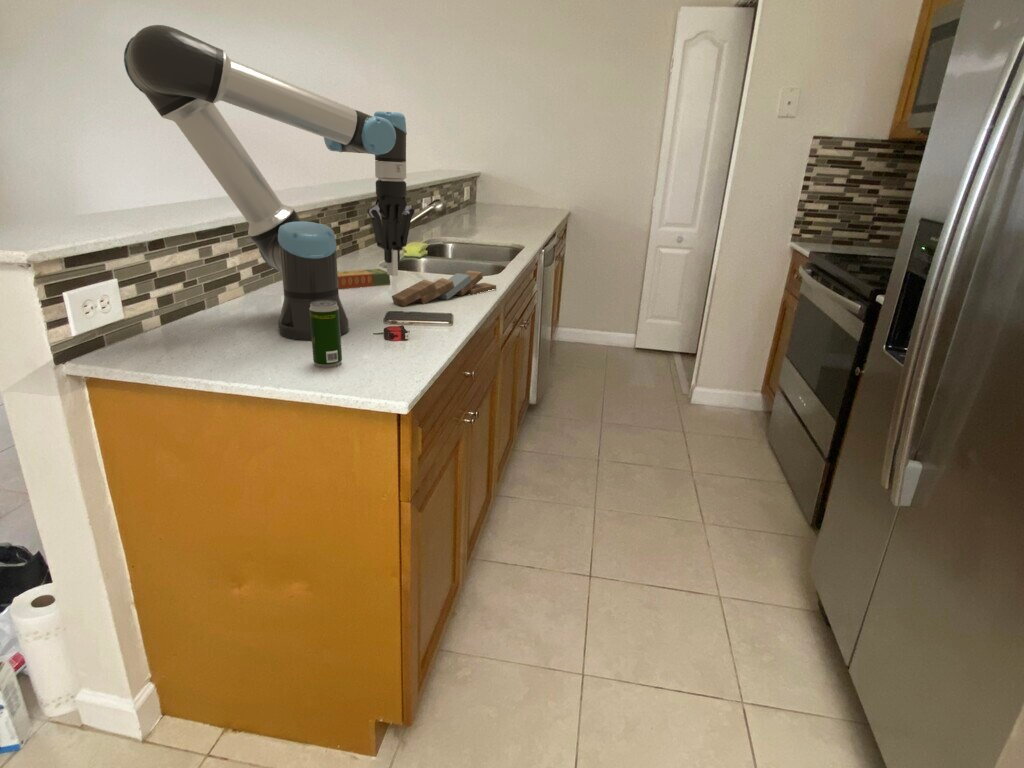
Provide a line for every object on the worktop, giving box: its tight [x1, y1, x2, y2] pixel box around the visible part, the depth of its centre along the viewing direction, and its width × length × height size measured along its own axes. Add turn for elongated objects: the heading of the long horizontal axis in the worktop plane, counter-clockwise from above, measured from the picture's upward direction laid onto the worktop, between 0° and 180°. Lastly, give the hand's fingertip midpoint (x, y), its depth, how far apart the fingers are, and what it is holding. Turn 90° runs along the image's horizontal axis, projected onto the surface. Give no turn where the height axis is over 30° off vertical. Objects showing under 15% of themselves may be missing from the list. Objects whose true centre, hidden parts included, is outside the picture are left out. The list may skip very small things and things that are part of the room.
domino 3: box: [435, 272, 471, 301], centre depth 178 cm, size 2×5×11 cm
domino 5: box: [464, 282, 497, 296], centre depth 186 cm, size 2×5×11 cm
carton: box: [337, 268, 391, 290], centre depth 188 cm, size 8×16×4 cm, turn 124°
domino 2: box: [414, 277, 454, 305], centre depth 173 cm, size 2×5×11 cm
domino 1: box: [391, 279, 436, 308], centre depth 169 cm, size 2×5×11 cm
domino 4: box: [454, 270, 484, 296], centre depth 183 cm, size 2×5×11 cm
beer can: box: [309, 300, 343, 369], centre depth 119 cm, size 5×5×12 cm
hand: (392, 274), depth 162 cm, fingers closed
